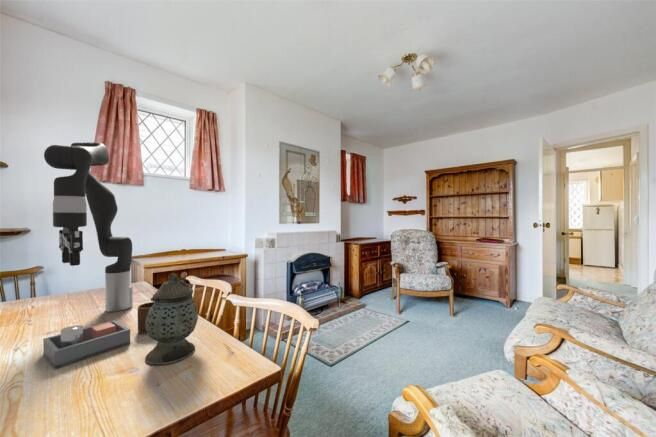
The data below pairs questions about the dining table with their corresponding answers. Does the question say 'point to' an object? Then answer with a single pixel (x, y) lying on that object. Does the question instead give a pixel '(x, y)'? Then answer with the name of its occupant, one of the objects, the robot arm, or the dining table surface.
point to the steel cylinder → (71, 336)
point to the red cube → (103, 330)
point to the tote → (84, 346)
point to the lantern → (171, 322)
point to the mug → (143, 316)
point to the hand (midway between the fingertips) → (70, 264)
